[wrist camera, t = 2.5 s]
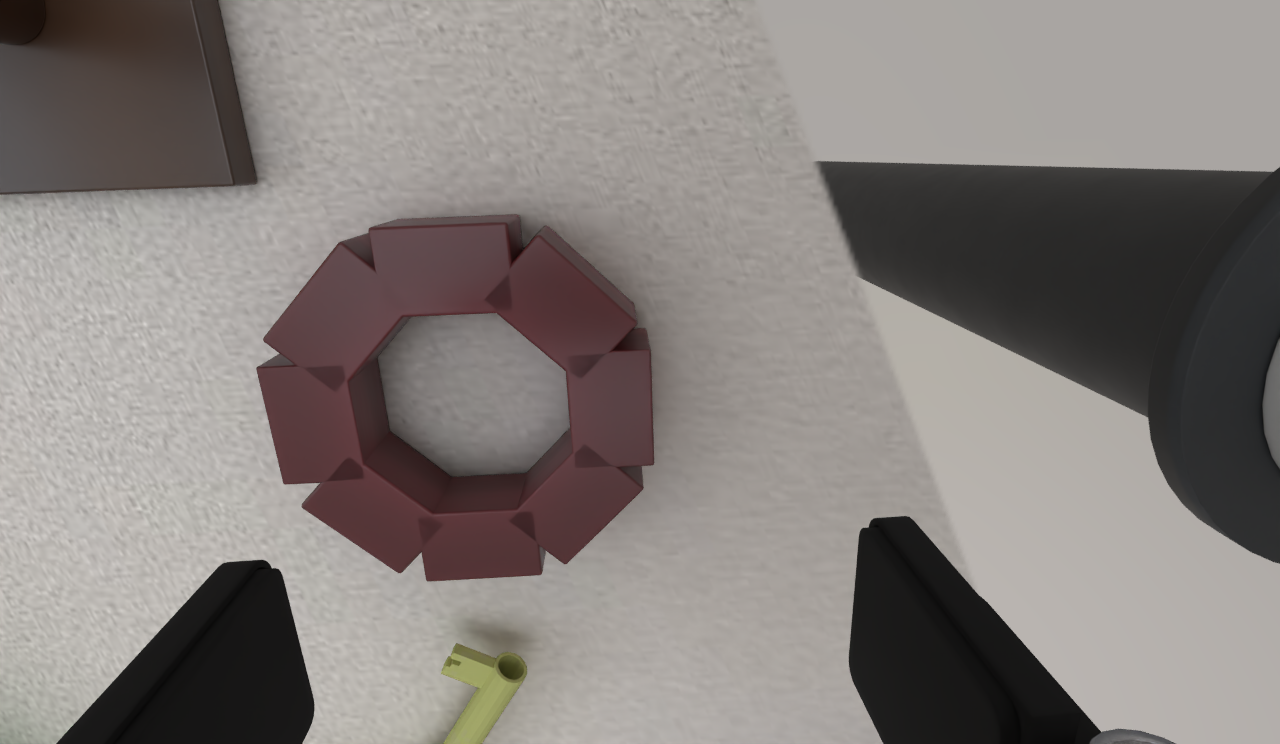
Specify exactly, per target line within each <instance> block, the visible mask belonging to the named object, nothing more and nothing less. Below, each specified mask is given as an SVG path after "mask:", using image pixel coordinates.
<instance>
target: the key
mask: <svg viewBox="0 0 1280 744" xmlns="http://www.w3.org/2000/svg"><path fill="white" fill-rule="evenodd" d="M441 674H443V675H446V676H448V677H451V678H454V679H456V680H459V681H462V682H464V683H467V684H470V685H472V686H475V687H478V689H477V690H476V692H475V693H474V695H473V697H472V698H471V700H470V701H469V703H468V705H467V706H466V708H465V709H464V711H463V713H462V714H461V716H460V717H459V719H458V721H457V722H456V724H455V725H454V727H453V729H452V730H451V732H450V733H449V735H448V737H447V738H446V740H445V741H444V743H443V744H482V742H483V741H484V739H485V738H486V736H487V735H488V733H489V732H490V730H491V729H492V727H493V726H494V724H495V723H496V721H497V720H498V718H499V717H500V715H501V714H502V712H503V711H504V709H505V708H506V706H507V705H508V703H509V702H510V700H511V699H512V697H513V696H514V694H515V692H516V691H517V689H518V688H519V686H520V685H521V683H522V682H523V680H524V679H525V677H526V675H527V666H526V664H525V662H524V661H523V659H522V658H521V657H520V656H518V655H516V654H515V653H511V652H505V653H502V654H500V655H499V656H498V657H497V658H493V657H491V656H488V655H486V654H483V653H481V652H478V651H475V650H473V649H470V648H468V647H465V646H463V645H460V644H457V643H456V645H455V646H454V648H453V651H452V654H451V657H450V656H449V657H448V658H447V660H446V662H445V663H444V666H443V669H442V672H441Z"/></svg>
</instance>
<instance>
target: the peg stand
mask: <svg viewBox="0 0 1280 744" xmlns="http://www.w3.org/2000/svg"><path fill="white" fill-rule="evenodd" d="M254 184H256V177H255V172H254V168H253V163H252V158H251V154H250V149H249V144H248V140H247V135H246V131H245V126H244V121H243V117H242V112H241V107H240V103H239V98H238V93H237V89H236V84H235V79H234V75H233V70H232V66H231V61H230V56H229V52H228V47H227V42H226V38H225V33H224V28H223V24H222V19H221V14H220V10H219V5H218V0H0V195H6V194H34V193H61V192H88V191H115V190H143V189H170V188H197V187H224V186H242V185H254Z"/></svg>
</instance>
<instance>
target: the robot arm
mask: <svg viewBox="0 0 1280 744" xmlns="http://www.w3.org/2000/svg"><path fill="white" fill-rule="evenodd" d="M1262 407H1263V422H1264V434H1265V437H1266V440H1267V443H1268V446H1269V449H1270V452H1271V456H1272V458H1273V459H1274V461H1275V463H1276V464H1277V466H1278V467H1279V469H1280V338H1279V340H1278V342H1277V345H1276V348H1275V351H1274V354H1273V357H1272V360H1271V362H1270V365H1269V368H1268V371H1267V376H1266V382H1265V389H1264V396H1263V403H1262ZM849 668H850V673H851V676H852V680H853V682H854V685H855V687H856V689H857V691H858V693H859V695H860V697H861V699H862V701H863V703H864V705H865V707H866V709H867V711H868V713H869V715H870V717H871V719H872V721H873V723H874V725H875V727H876V729H877V731H878V733H879V736H880V738H881V740H882V742H883V744H1175V743H1173V742H1171V741H1169V740H1167V739H1165V738H1162V737H1159V736H1156V735H1152V734H1149V733H1146V732H1142V731H1136V730H1126V729H1115V730H1109V731H1104V732H1101V731H1100V730H1099V729H1098V728H1097V727H1096V726H1095V724H1093V722H1092V721H1091V720H1090V719H1089V718H1088V717H1087V715H1086V714H1085V713H1084V712H1083V711H1082V710H1081V708H1080V707H1079V706H1078V705H1077V704H1076V703H1075V702H1074V701H1073V699H1072V698H1071V697H1070V696H1069V695H1068V694H1067V693H1066V691H1064V689H1063V688H1062V687H1061V686H1060V685H1059V684H1058V682H1057V681H1056V680H1055V679H1054V678H1053V677H1052V676H1051V674H1050V673H1049V672H1048V671H1047V670H1046V669H1045V667H1044V666H1043V665H1042V664H1041V663H1040V662H1039V661H1038V660H1037V658H1036V657H1035V656H1034V655H1033V654H1032V653H1031V652H1030V650H1029V649H1028V648H1027V647H1026V646H1025V645H1024V644H1023V642H1022V641H1021V640H1020V639H1019V638H1018V637H1017V636H1016V634H1015V633H1014V632H1013V631H1012V630H1011V629H1010V628H1009V627H1008V625H1007V624H1006V623H1005V622H1004V621H1003V620H1002V619H1001V617H1000V616H999V615H998V614H997V613H996V612H995V611H994V609H992V607H991V606H990V605H989V604H988V603H987V602H986V601H985V600H984V599H983V598H982V597H980V596H979V595H978V594H977V593H976V592H975V590H974V589H973V588H972V587H971V586H970V585H969V584H968V582H967V581H966V580H965V579H964V578H963V577H962V576H961V574H960V573H959V572H958V571H957V570H956V569H955V568H954V566H953V565H952V564H951V563H950V562H949V561H948V560H947V558H946V557H945V556H944V555H943V554H942V553H941V551H940V550H939V549H938V548H937V547H936V546H935V545H934V543H933V542H932V541H931V540H930V539H929V538H928V537H927V535H926V534H925V533H924V532H923V531H922V530H921V529H920V527H919V526H918V525H917V524H916V523H915V522H914V521H913V520H912V519H911V518H910V517H907V516H901V517H886V518H874V519H872V520H871V522H870V524H869V528H862V529H861V531H860V534H859V543H858V555H857V567H856V579H855V591H854V602H853V614H852V626H851V638H850V650H849ZM313 716H314V698H313V694H312V691H311V687H310V683H309V679H308V675H307V671H306V667H305V663H304V659H303V655H302V651H301V647H300V643H299V639H298V635H297V631H296V627H295V623H294V619H293V615H292V611H291V607H290V603H289V600H288V596H287V592H286V588H285V584H284V580H283V576H282V574H281V572H280V571H279V569H276V568H273V569H272V568H271V566H270V564H269V563H268V562H267V561H265V560H253V561H238V562H227V563H223V564H222V565H221V566H219V567H218V568H217V569H216V570H215V571H214V572H213V574H212V575H211V576H210V577H209V578H208V579H207V580H206V581H205V582H204V583H203V584H202V586H201V587H200V588H199V589H198V590H197V591H196V592H195V593H194V594H193V595H192V596H191V597H190V599H189V600H188V601H187V602H186V603H185V604H184V605H183V606H182V607H181V608H180V609H179V611H178V612H177V613H176V614H175V615H174V616H173V617H172V618H171V619H170V620H169V621H168V623H167V624H166V625H165V626H164V627H163V628H162V629H161V630H160V631H159V632H158V633H157V635H156V636H155V637H154V638H153V639H152V640H151V641H150V642H149V643H148V644H147V645H146V647H145V648H144V649H143V650H142V651H141V652H140V653H139V654H138V655H137V656H136V657H135V659H134V660H133V661H132V662H131V663H130V664H129V665H128V666H127V667H126V668H125V669H124V670H123V672H122V673H121V674H120V675H119V676H118V677H117V678H116V679H115V680H114V681H113V682H112V684H111V685H110V686H109V687H108V688H107V689H106V690H105V691H104V692H103V693H102V694H101V696H100V697H99V698H98V699H97V700H96V701H95V702H94V703H93V704H92V705H91V706H90V708H89V709H88V710H87V711H86V712H85V713H84V714H83V715H82V716H81V717H80V718H79V720H78V721H77V722H76V723H75V724H74V725H73V726H72V727H71V728H70V729H69V730H68V732H67V733H66V734H65V735H64V736H63V737H62V738H61V739H60V740H59V741H58V742H57V743H56V744H302V743H303V741H304V739H305V737H306V735H307V733H308V731H309V729H310V726H311V724H312V720H313Z"/></svg>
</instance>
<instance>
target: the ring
mask: <svg viewBox="0 0 1280 744" xmlns="http://www.w3.org/2000/svg"><path fill="white" fill-rule="evenodd" d="M483 313H497V314H498V315H500V316H501V317H502V318H503V319H504V320H505V321H507V322H508V323H509V324H510V325H511V326H513V327H514V328H515V329H516V330H517V331H519V332H520V333H521V334H522V335H523V336H525V337H526V338H527V339H528V340H529V341H530V342H532V343H533V344H534V345H535V346H536V347H538V348H539V349H540V350H541V351H542V352H544V353H545V354H546V355H547V356H548V357H550V358H551V359H552V360H553V361H554V362H556V363H557V364H558V365H559V366H560V367H561V368H563V369H564V370H565V371H566V379H567V392H568V405H569V419H570V428H569V430H568V431H567V432H566V433H565V434H564V435H563V436H562V437H561V438H560V439H559V440H558V441H557V442H556V443H555V444H554V445H553V446H552V447H551V448H550V449H549V450H548V451H547V452H546V453H545V454H544V455H543V457H542V458H541V459H540V460H539V461H538V462H537V463H536V464H535V465H534V466H533V467H532V468H531V469H530V470H529V471H528V472H527V473H520V474H500V475H481V476H462V477H451V476H449V475H448V474H447V473H445V472H444V471H443V470H441V469H440V468H438V467H437V466H436V465H434V464H433V463H432V462H430V461H429V460H428V459H426V458H425V457H424V456H422V455H421V454H420V453H418V452H417V451H416V450H414V449H413V448H412V447H410V446H409V445H408V444H406V443H405V442H403V441H402V440H401V439H399V438H398V437H397V436H395V435H394V434H393V433H391V432H390V430H389V424H388V418H387V413H386V407H385V401H384V395H383V389H382V384H381V378H380V372H379V366H378V360H377V357H378V356H379V354H380V353H381V352H382V351H383V350H384V349H385V347H386V346H387V345H388V344H389V343H390V341H391V340H392V339H393V338H394V337H395V336H396V334H397V333H398V332H399V331H400V330H401V328H402V327H403V326H404V325H405V324H406V323H407V321H408V320H409V319H410V318H411V317H414V316H437V315H460V314H483ZM636 325H637V318H636V312H635V306H634V303H633V302H631V301H630V300H629V299H628V298H627V297H626V296H625V295H624V294H623V293H622V292H620V291H619V290H618V289H617V288H616V287H615V286H614V285H613V284H612V283H611V282H609V281H608V280H607V279H606V278H605V277H604V276H603V275H602V274H601V273H599V272H598V271H597V270H596V269H595V268H594V267H593V266H592V265H591V264H590V263H588V262H587V261H586V260H585V259H584V258H583V257H582V256H581V255H580V254H578V253H577V252H576V251H575V250H574V249H573V248H572V247H571V246H570V245H569V244H567V243H566V242H565V241H564V240H563V239H562V238H561V237H560V236H559V235H557V234H556V233H555V232H554V231H553V230H552V229H551V228H550V227H549V226H544V227H543V228H542V229H541V230H540V231H539V232H538V233H537V235H536V236H535V237H534V238H533V239H532V240H531V241H530V243H529V244H528V245H527V246H526V247H525V248H524V249H523V247H522V236H521V225H520V217H519V215H516V214H515V215H489V216H463V217H437V218H412V219H397V220H393V221H390V222H386V223H383V224H380V225H376V226H373V227H370V228H369V233H367V234H364V235H361V236H357V237H354V238H351V239H348V240H345V241H342V242H339V243H338V244H337V246H336V247H335V248H334V249H333V251H332V252H331V253H330V254H329V256H328V257H327V258H326V259H325V261H324V262H323V263H322V265H321V266H320V267H319V268H318V270H317V271H316V272H315V273H314V275H313V276H312V277H311V278H310V280H309V281H308V282H307V284H306V285H305V286H304V287H303V289H302V290H301V291H300V292H299V294H298V295H297V296H296V297H295V299H294V300H293V301H292V303H291V304H290V305H289V306H288V308H287V309H286V310H285V311H284V313H283V314H282V315H281V316H280V318H279V319H278V320H277V322H276V323H275V324H274V325H273V327H272V328H271V329H270V330H269V332H268V333H267V334H266V335H265V337H264V339H263V341H264V342H265V343H267V344H268V345H269V346H271V347H272V348H273V349H275V350H276V351H277V352H279V353H280V354H278V355H277V356H275V357H273V358H272V359H270V360H268V361H267V362H265V363H263V364H262V365H260V366H258V367H257V374H258V378H259V382H260V386H261V391H262V395H263V399H264V403H265V407H266V412H267V416H268V420H269V424H270V429H271V433H272V437H273V441H274V446H275V450H276V454H277V458H278V462H279V467H280V471H281V475H282V479H283V483H284V484H303V483H320V484H319V485H318V486H317V487H316V488H315V490H314V491H313V492H312V493H311V494H310V495H309V496H308V498H307V499H306V500H305V501H304V502H303V503H302V508H303V509H305V510H306V511H308V512H309V513H311V514H312V515H314V516H315V517H316V518H318V519H319V520H321V521H322V522H324V523H325V524H327V525H328V526H330V527H331V528H333V529H334V530H336V531H337V532H339V533H340V534H342V535H343V536H344V537H346V538H347V539H349V540H350V541H352V542H353V543H355V544H356V545H358V546H359V547H361V548H362V549H364V550H365V551H367V552H368V553H370V554H371V555H372V556H374V557H375V558H377V559H378V560H380V561H381V562H383V563H384V564H386V565H387V566H389V567H390V568H392V569H393V570H395V571H396V572H398V573H402V572H403V571H404V570H405V569H406V568H407V567H408V566H409V565H410V564H411V563H412V561H413V560H414V559H415V558H416V557H417V556H418V555H419V554H420V553H421V552H422V557H423V563H424V569H425V575H426V580H427V581H445V580H462V579H480V578H497V577H515V576H533V575H541V574H542V571H543V565H544V559H545V552H546V551H547V552H549V553H550V554H551V555H553V556H554V557H555V558H557V559H558V560H559V561H561V562H562V563H564V564H567V563H568V562H569V561H570V560H571V559H572V558H573V557H574V556H575V555H576V554H577V553H578V552H579V551H580V550H581V549H582V548H584V547H585V546H586V545H587V544H588V543H589V542H590V541H591V540H592V539H593V538H594V537H595V536H596V535H597V534H598V533H599V532H600V531H601V530H602V529H603V528H604V527H605V526H606V525H607V524H608V523H609V522H610V521H611V520H612V519H613V518H614V517H615V516H616V515H617V514H618V513H619V512H620V511H621V510H622V509H624V508H625V507H626V506H627V505H628V504H629V503H630V502H631V501H632V500H633V499H634V498H635V497H636V496H637V495H638V494H639V493H640V492H641V491H642V490H643V488H644V487H643V477H642V467H641V466H649V465H654V437H653V403H652V369H651V349H650V344H649V340H648V335H647V330H646V329H645V328H638V329H634V328H635V326H636Z"/></svg>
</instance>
